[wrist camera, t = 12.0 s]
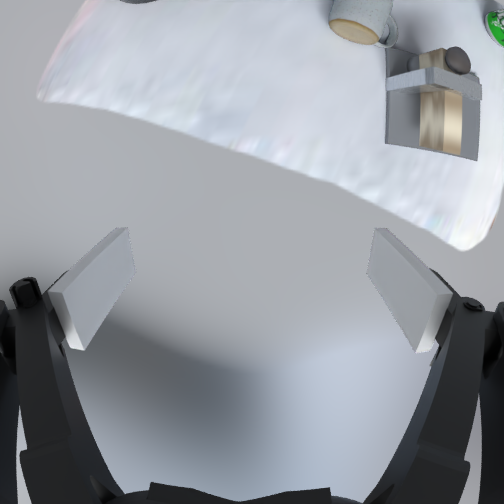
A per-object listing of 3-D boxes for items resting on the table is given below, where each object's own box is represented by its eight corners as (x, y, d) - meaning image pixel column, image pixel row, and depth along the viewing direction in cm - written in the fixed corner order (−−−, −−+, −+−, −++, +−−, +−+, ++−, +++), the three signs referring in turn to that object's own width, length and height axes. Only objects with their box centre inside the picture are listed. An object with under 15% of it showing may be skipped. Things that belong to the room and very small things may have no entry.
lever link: (416, 52, 27) (447, 42, 20) (437, 59, 27) (469, 51, 20) (417, 145, 33) (449, 153, 26) (437, 149, 33) (470, 157, 26)
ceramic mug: (320, 32, 31) (335, 15, 24) (333, -9, 27) (348, -30, 20) (387, 61, 32) (413, 53, 25) (397, 21, 29) (422, 8, 22)
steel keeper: (385, 78, 33) (433, 66, 21) (428, 88, 33) (481, 84, 21) (386, 90, 34) (434, 83, 22) (428, 100, 34) (482, 100, 22)
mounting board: (385, 48, 31) (395, 43, 28) (475, 78, 30) (488, 77, 27) (385, 143, 37) (395, 145, 34) (473, 160, 37) (486, 163, 34)
